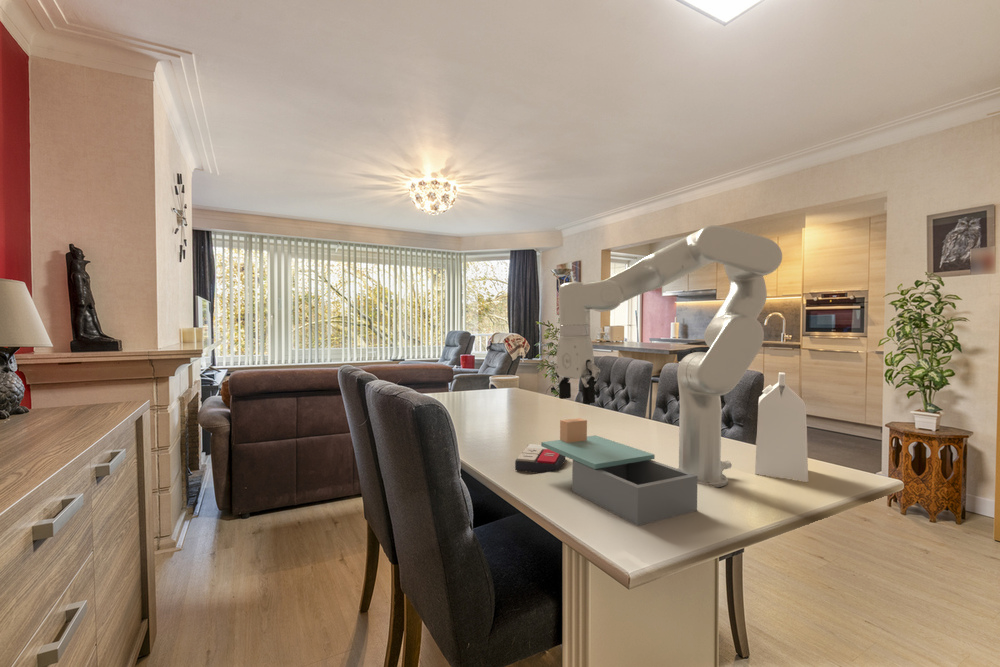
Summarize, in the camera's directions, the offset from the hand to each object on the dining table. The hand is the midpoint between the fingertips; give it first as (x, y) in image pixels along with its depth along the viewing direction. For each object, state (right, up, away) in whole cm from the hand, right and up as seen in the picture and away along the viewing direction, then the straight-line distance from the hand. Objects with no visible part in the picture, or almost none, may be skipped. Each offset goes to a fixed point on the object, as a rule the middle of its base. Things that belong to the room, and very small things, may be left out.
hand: (576, 400), depth 116 cm
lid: (+3, -11, -7) cm, 14 cm away
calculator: (-8, -20, +11) cm, 24 cm away
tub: (+9, -20, -18) cm, 28 cm away
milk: (+55, -20, +6) cm, 59 cm away
